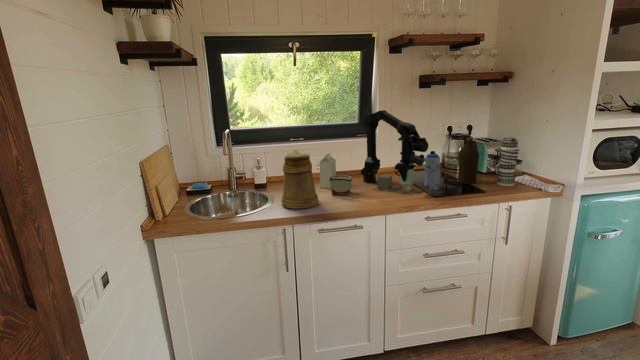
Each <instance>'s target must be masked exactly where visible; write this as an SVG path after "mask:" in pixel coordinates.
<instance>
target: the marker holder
mask: <svg viewBox="0 0 640 360" xmlns="http://www.w3.org/2000/svg"><path fill="white" fill-rule="evenodd" d="M411 185H412V184H411ZM411 185H407V184H402V186H396V185H392V188H390V189H389V190H383V189H378V185H377V186H376V187H374V188H373V189H371V191H377V192H383V193H384V192H385V193H392V194H399V195H406V196H407V195H408V196H413V195H415V194H416V193H417V192H418V191H420V190H421V189H420V188H416V187H415V188H413V187H411Z"/></svg>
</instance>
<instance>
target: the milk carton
mask: <svg viewBox="0 0 640 360" xmlns="http://www.w3.org/2000/svg"><path fill="white" fill-rule="evenodd" d="M336 162H337V161H336V159H335V158H334V157H333V156H332V155H331V154H330V152H327V153H326V154H325V155H324V157H323V158H322V159H321V160H320V161H319V163H318V164H319V180H320V182H319V183H320V188H323V189H331V184H330V181H329V178H330V177H331V176H336V175H337V170H336V169H337V168H336V167H337V163H336Z"/></svg>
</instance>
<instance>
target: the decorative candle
mask: <svg viewBox="0 0 640 360" xmlns="http://www.w3.org/2000/svg"><path fill="white" fill-rule="evenodd" d="M500 142H501V146H500V148H498V150H499V152H498V157H499V158H498V163H499V167H498V170H497V172H498V173H497V175H498V176H497V180H496V181H497V182H496V184H497V185H499V186H503V187H513V186H515V184H516V181H515V180H516V178H515V177H516V174H517V172H516V166H517V165H516V164H517V163H518V162H517V161H518V157H519V156H518V155H519V151H520V149H518V143H519V140H517V138H516V137H511V136H510V137H504V138H503V139H502V140H500Z"/></svg>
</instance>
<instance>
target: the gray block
mask: <svg viewBox="0 0 640 360" xmlns="http://www.w3.org/2000/svg"><path fill="white" fill-rule="evenodd" d="M377 186H378V189H383V190H389V189H390V188H392V186H393V175H391V174H381V175H378V176H377Z"/></svg>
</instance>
